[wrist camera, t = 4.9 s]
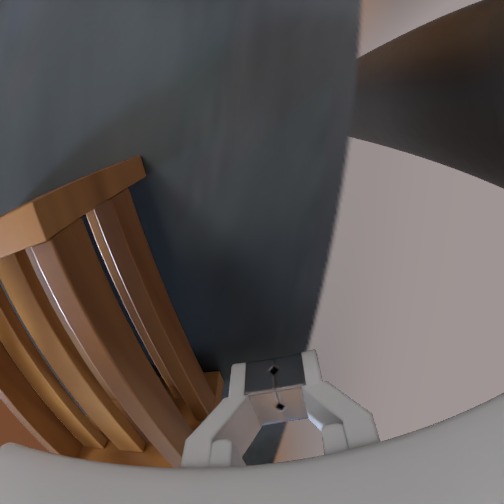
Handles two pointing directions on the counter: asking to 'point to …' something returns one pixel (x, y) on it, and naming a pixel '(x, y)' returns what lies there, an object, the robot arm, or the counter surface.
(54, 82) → the counter surface
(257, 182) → the counter surface
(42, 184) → the counter surface
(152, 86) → the counter surface
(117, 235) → the slatted rack
